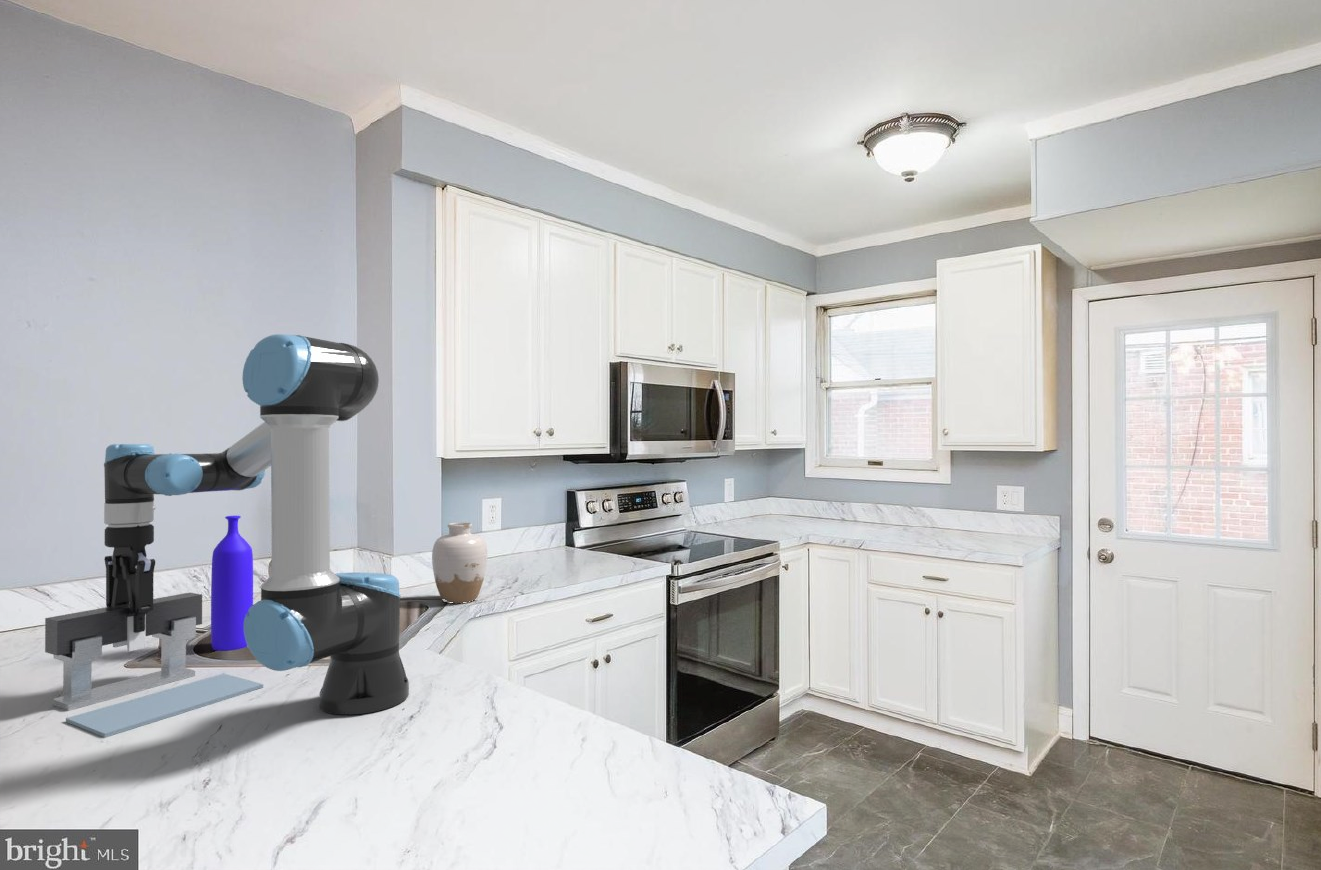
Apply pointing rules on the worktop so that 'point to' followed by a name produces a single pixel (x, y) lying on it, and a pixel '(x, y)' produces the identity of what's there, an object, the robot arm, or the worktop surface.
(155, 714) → the mat
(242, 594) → the bottle
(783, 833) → the worktop surface
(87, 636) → the rail
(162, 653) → the standards
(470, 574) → the vase
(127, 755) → the worktop surface
